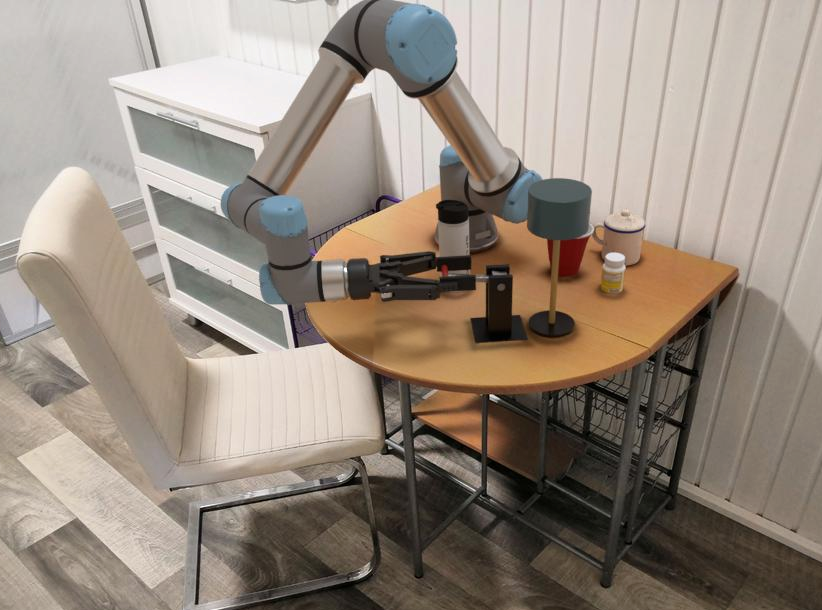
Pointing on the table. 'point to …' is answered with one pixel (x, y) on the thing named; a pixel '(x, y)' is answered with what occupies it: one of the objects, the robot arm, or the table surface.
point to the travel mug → (453, 231)
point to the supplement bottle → (613, 273)
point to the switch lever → (478, 277)
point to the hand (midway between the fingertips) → (473, 272)
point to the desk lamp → (557, 238)
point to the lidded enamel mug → (622, 235)
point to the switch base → (498, 310)
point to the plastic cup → (570, 253)
